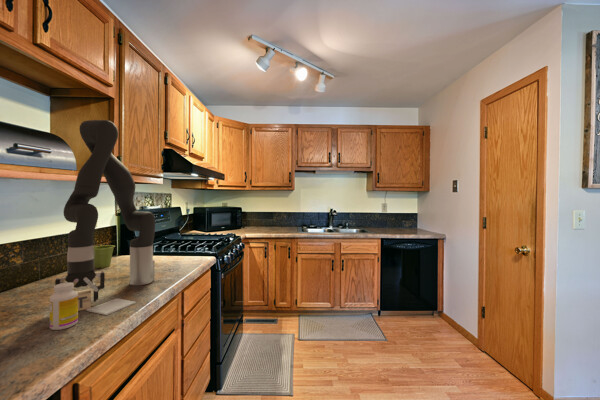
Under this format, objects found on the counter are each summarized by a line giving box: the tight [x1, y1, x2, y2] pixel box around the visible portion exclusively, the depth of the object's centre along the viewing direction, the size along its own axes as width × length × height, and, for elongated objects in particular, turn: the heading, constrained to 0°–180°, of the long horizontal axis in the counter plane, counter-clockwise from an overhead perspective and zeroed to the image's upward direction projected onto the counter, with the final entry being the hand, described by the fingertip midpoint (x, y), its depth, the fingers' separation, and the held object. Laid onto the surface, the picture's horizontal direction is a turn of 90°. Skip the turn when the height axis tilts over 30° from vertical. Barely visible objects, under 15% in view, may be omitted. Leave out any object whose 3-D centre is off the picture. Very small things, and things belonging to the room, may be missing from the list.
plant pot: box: [93, 244, 116, 269], centre depth 151 cm, size 12×12×11 cm
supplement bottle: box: [49, 282, 79, 331], centre depth 83 cm, size 7×7×13 cm
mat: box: [85, 297, 137, 316], centre depth 97 cm, size 11×10×1 cm
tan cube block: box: [76, 288, 92, 312], centre depth 96 cm, size 6×6×6 cm
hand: (81, 303), depth 96 cm, fingers open, 7 cm apart
